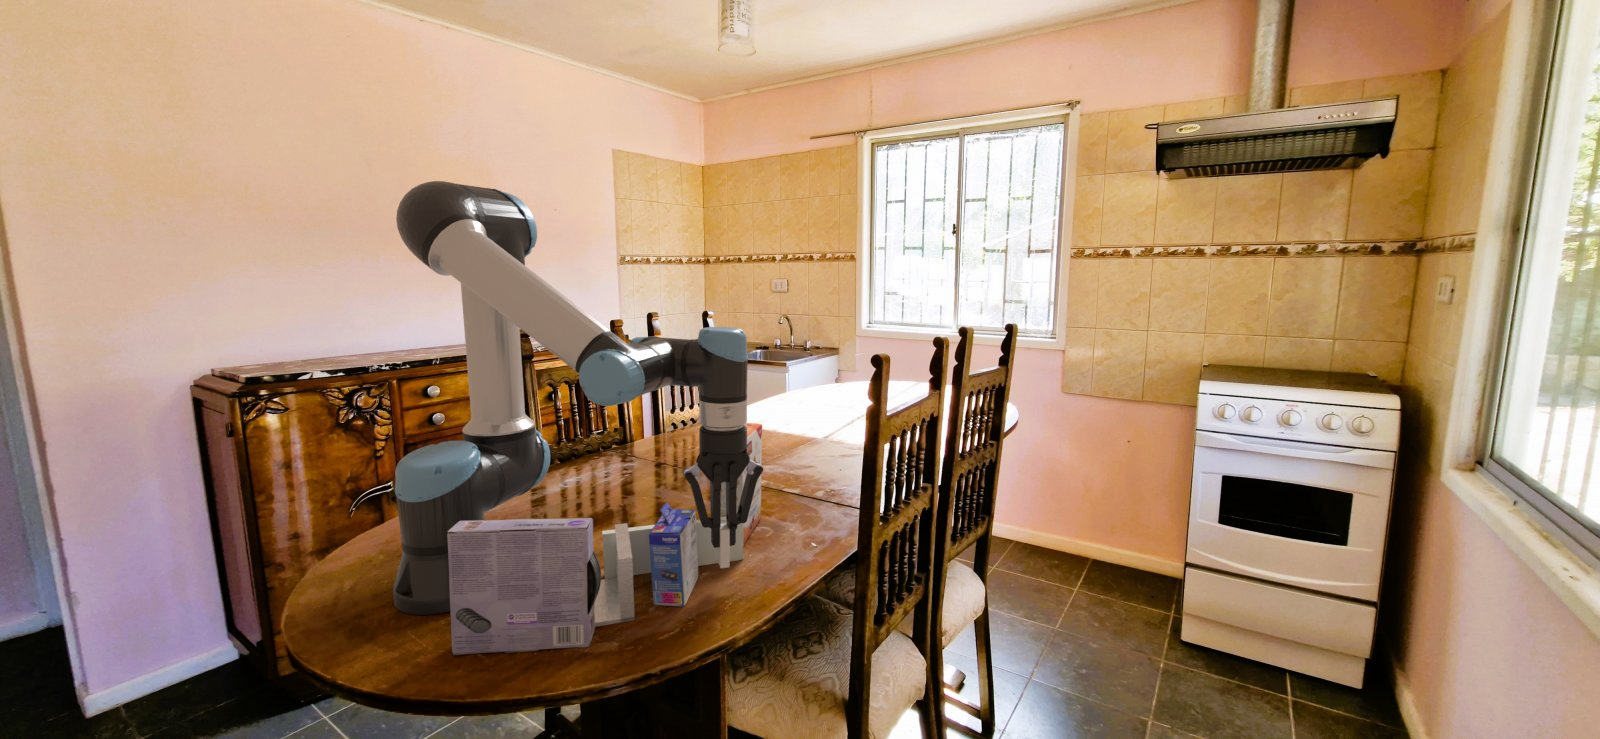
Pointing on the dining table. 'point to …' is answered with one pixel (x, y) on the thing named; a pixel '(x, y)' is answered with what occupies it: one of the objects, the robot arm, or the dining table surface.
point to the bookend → (617, 585)
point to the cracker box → (755, 455)
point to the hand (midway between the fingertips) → (723, 563)
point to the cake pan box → (522, 584)
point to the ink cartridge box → (673, 556)
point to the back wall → (642, 548)
